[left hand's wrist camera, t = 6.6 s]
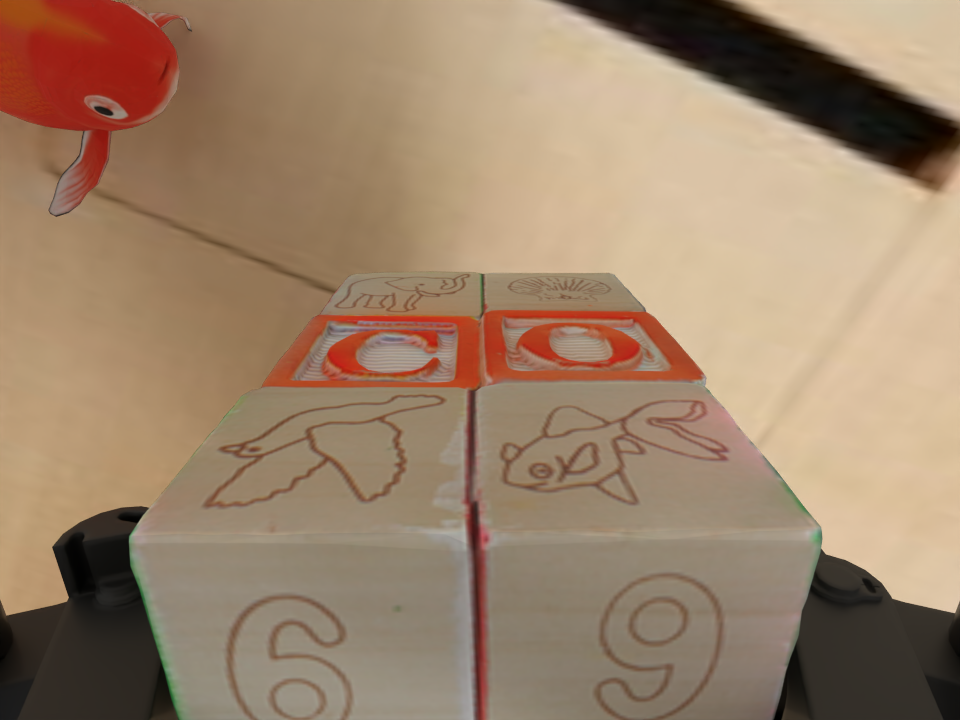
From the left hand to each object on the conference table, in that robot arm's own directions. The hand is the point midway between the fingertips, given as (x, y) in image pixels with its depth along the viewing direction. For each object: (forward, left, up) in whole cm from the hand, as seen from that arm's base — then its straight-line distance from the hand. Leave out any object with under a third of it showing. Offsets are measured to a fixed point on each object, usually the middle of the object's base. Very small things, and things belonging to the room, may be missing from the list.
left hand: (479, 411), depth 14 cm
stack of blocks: (+4, +6, -1) cm, 7 cm away
